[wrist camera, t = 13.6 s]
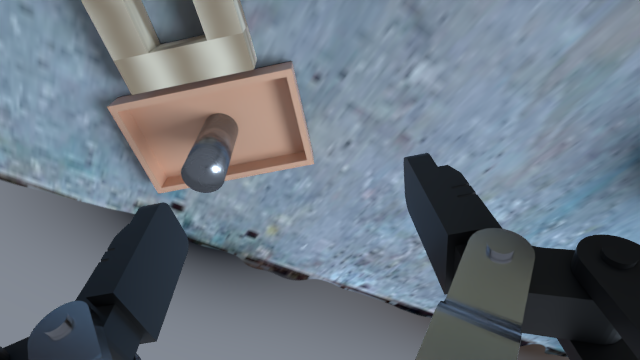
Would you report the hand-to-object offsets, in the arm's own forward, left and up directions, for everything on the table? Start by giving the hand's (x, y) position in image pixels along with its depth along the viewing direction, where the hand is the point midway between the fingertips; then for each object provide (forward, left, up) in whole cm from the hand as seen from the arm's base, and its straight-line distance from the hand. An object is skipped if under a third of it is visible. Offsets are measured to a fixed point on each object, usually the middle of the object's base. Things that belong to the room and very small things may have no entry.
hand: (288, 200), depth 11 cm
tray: (+12, +11, -32) cm, 36 cm away
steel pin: (+12, +11, -32) cm, 35 cm away
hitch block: (+12, -4, -32) cm, 35 cm away
